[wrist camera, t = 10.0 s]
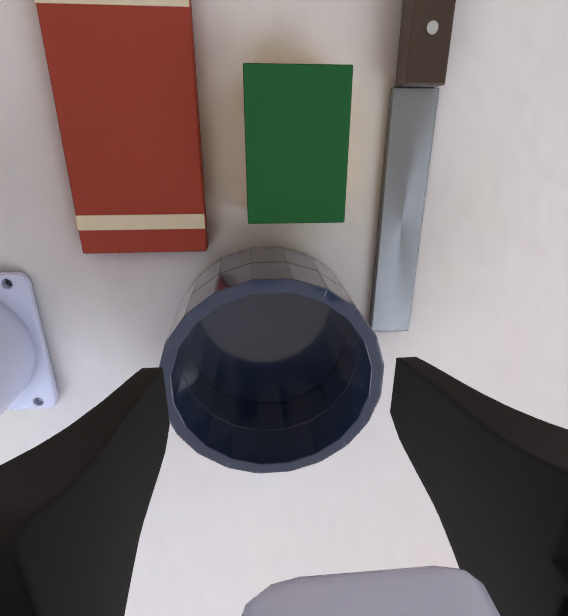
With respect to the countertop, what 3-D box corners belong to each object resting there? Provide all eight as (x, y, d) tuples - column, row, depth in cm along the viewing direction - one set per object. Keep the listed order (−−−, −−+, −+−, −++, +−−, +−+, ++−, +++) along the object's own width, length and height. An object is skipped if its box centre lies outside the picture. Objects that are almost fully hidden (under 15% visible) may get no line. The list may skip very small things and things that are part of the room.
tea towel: (88, 249, 21) (82, 254, 20) (34, -48, 16) (23, -57, 15) (208, 247, 21) (206, 251, 20) (188, -43, 17) (185, -51, 16)
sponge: (247, 211, 21) (247, 223, 18) (243, 75, 18) (242, 62, 15) (329, 210, 21) (344, 222, 18) (335, 77, 19) (353, 64, 16)
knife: (369, 329, 24) (376, 340, 23) (408, -115, 16) (422, -138, 15) (406, 327, 24) (415, 339, 23) (461, -113, 17) (480, -135, 15)
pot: (186, 410, 25) (170, 479, 20) (168, 248, 21) (144, 282, 16) (348, 402, 26) (373, 466, 21) (360, 244, 22) (394, 276, 17)
